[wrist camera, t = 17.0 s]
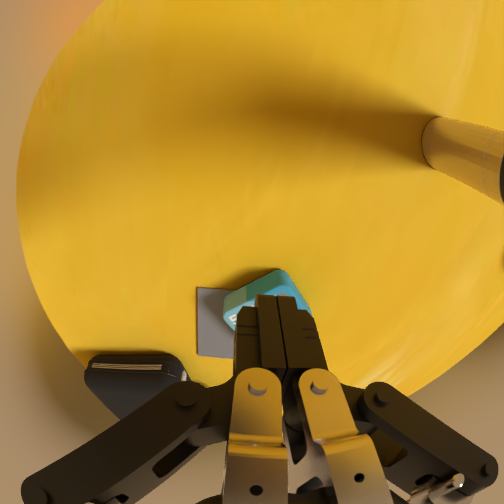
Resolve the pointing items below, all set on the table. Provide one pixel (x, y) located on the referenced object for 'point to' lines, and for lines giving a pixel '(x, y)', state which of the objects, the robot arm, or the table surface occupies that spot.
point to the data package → (268, 285)
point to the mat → (214, 324)
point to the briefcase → (131, 379)
